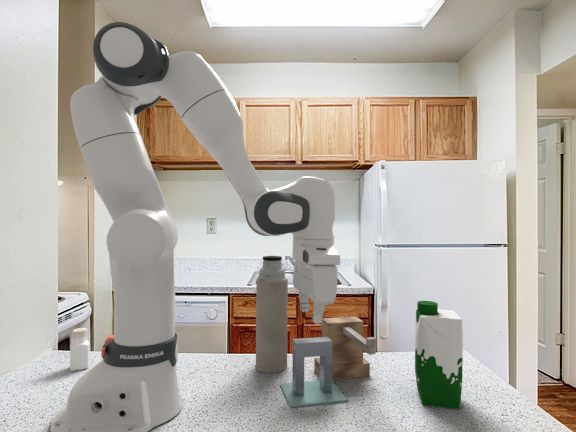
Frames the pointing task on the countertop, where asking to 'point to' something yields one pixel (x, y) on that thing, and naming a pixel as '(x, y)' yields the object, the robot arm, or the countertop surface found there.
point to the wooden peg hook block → (347, 347)
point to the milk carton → (438, 355)
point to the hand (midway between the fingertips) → (310, 316)
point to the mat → (312, 395)
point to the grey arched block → (312, 349)
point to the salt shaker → (79, 350)
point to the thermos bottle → (271, 316)
